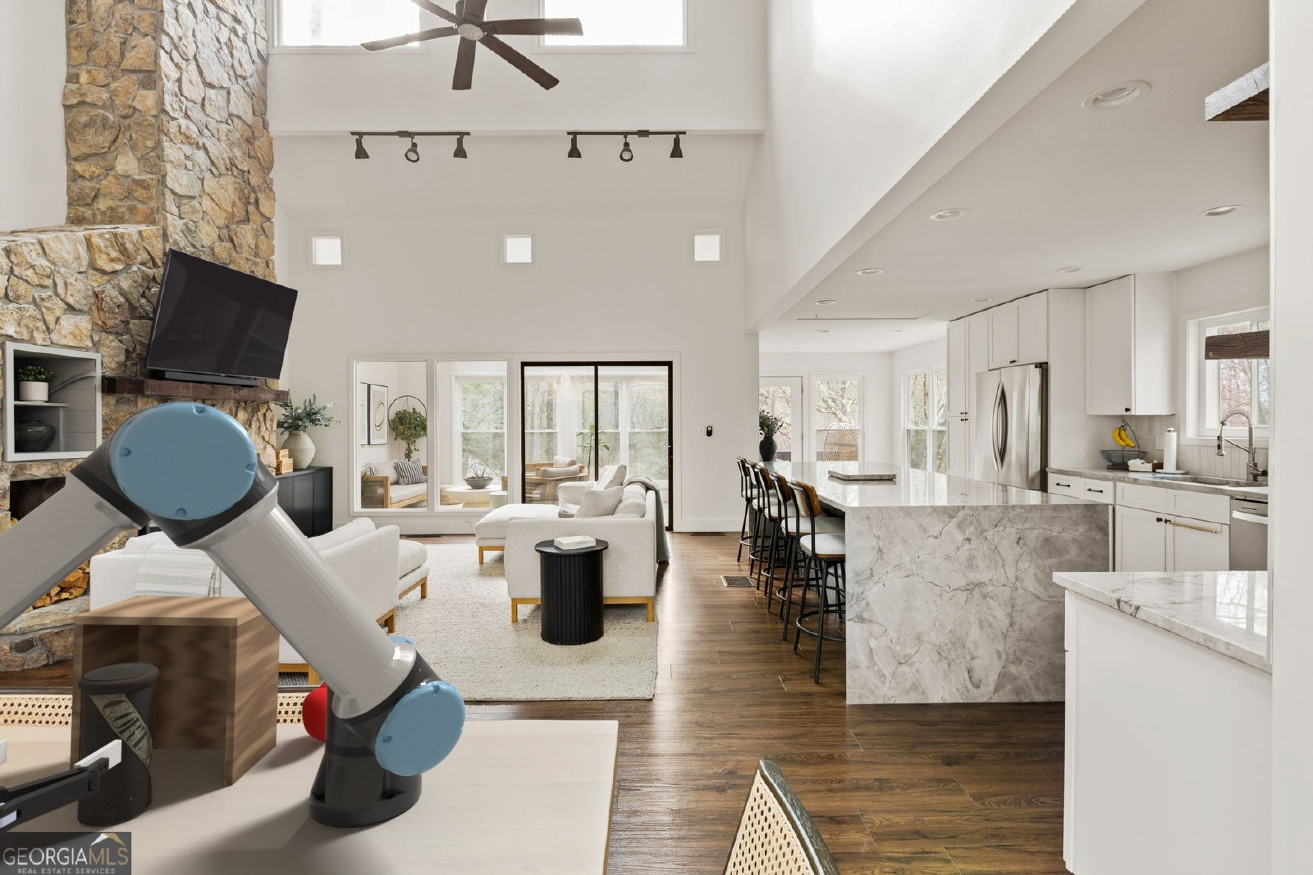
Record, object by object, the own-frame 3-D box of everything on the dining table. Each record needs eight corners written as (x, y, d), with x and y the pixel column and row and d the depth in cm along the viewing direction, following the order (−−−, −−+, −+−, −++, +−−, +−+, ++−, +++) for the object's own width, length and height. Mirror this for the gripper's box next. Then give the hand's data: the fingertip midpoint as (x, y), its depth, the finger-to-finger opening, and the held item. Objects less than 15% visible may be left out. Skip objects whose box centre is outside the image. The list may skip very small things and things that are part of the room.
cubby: (276, 745, 115) (280, 597, 115) (232, 785, 102) (237, 618, 102) (132, 745, 113) (137, 595, 114) (69, 785, 100) (75, 616, 100)
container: (110, 833, 89) (115, 680, 89) (55, 823, 91) (61, 674, 91) (170, 799, 97) (174, 660, 98) (119, 791, 99) (123, 655, 99)
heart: (325, 757, 111) (327, 696, 112) (292, 756, 111) (294, 696, 111) (354, 727, 123) (355, 672, 123) (323, 726, 123) (325, 671, 123)
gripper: (-270, 897, 62) (-46, 781, 84) (15, 893, 64) (164, 780, 85) (-268, 816, 62) (-44, 720, 84) (17, 813, 64) (165, 720, 85)
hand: (61, 750), depth 84 cm, fingers open, 13 cm apart
